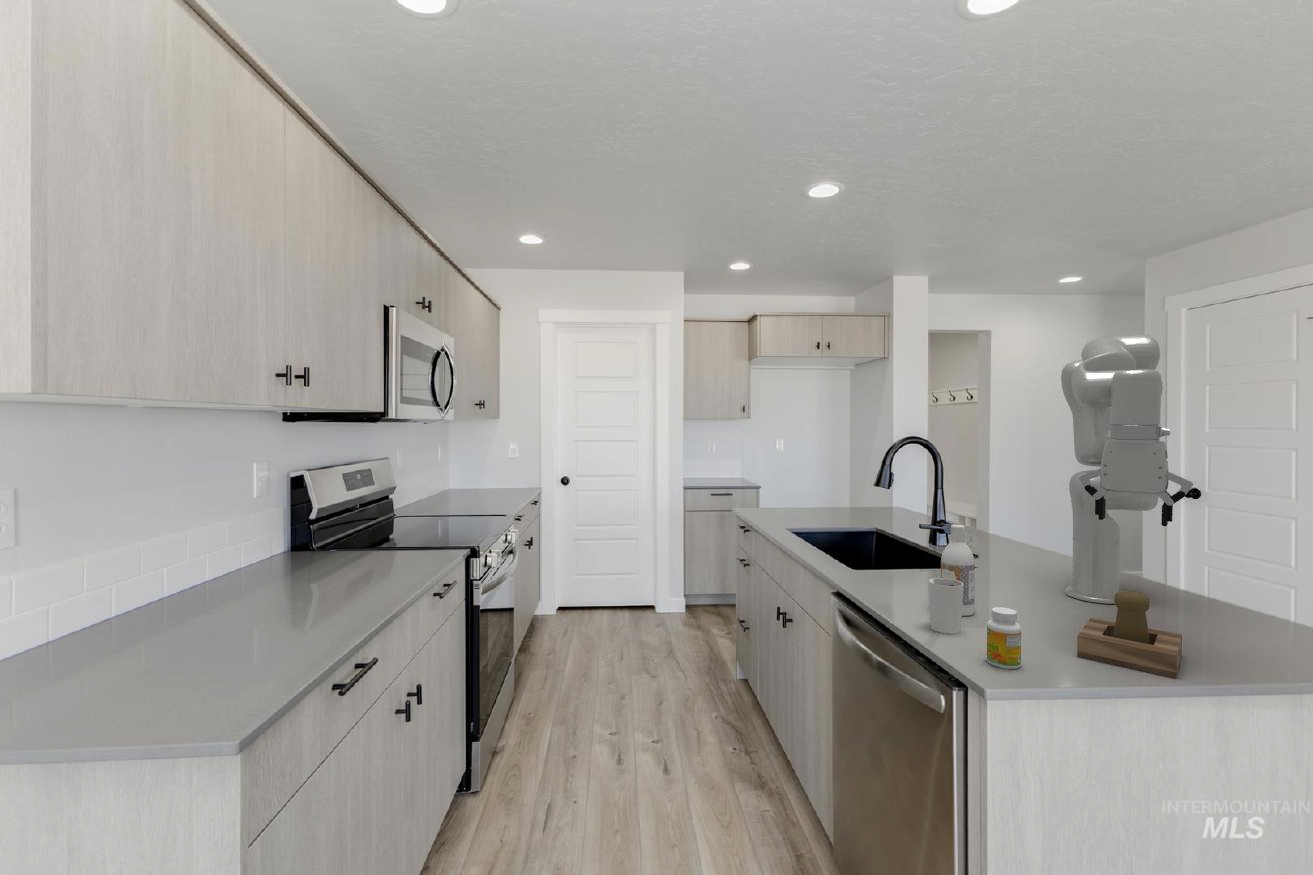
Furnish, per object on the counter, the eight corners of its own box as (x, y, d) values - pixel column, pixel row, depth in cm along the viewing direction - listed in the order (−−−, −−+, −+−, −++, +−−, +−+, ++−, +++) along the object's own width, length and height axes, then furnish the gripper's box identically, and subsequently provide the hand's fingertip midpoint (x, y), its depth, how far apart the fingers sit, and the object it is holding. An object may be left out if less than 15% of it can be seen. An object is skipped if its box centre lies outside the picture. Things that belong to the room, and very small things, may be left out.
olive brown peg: (1159, 658, 108) (1160, 597, 108) (1121, 655, 110) (1122, 595, 109) (1139, 646, 114) (1140, 588, 114) (1104, 643, 116) (1104, 586, 115)
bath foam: (933, 609, 140) (934, 524, 140) (955, 605, 143) (956, 522, 143) (959, 618, 134) (959, 529, 134) (981, 614, 137) (982, 526, 136)
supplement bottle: (980, 658, 111) (980, 606, 111) (1007, 657, 112) (1008, 605, 112) (999, 670, 106) (999, 615, 106) (1028, 669, 106) (1028, 614, 106)
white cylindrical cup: (945, 622, 131) (946, 576, 131) (970, 632, 125) (971, 584, 125) (921, 625, 129) (921, 579, 129) (945, 636, 123) (945, 587, 123)
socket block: (1090, 637, 122) (1090, 617, 122) (1181, 655, 112) (1182, 634, 112) (1077, 656, 112) (1077, 635, 112) (1176, 678, 102) (1176, 655, 102)
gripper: (1195, 434, 112) (1193, 524, 113) (1083, 432, 125) (1082, 514, 126) (1193, 436, 107) (1190, 531, 108) (1076, 434, 119) (1074, 519, 120)
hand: (1132, 521), depth 117 cm, fingers open, 9 cm apart
